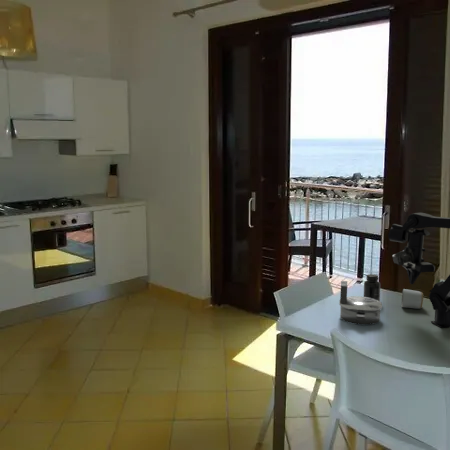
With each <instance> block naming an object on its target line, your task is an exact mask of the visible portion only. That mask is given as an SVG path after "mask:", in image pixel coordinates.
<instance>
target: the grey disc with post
mask: <svg viewBox="0 0 450 450" xmlns="http://www.w3.org/2000/svg"><path fill="white" fill-rule="evenodd" d="M339 297H340V298H339V303H338V304H339V306H340V307H341V306H342V307H343V308H346V309H349V310H354V311H363V312H370V311H377V310H380V311H381V309H382V308H383V303H382V302H381V300H380V301H378V300H376V299H373V298H368V297H364V296H360V295H359V296H357V295H356V296H348V281H347V280H341V281H340V296H339Z"/></svg>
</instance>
